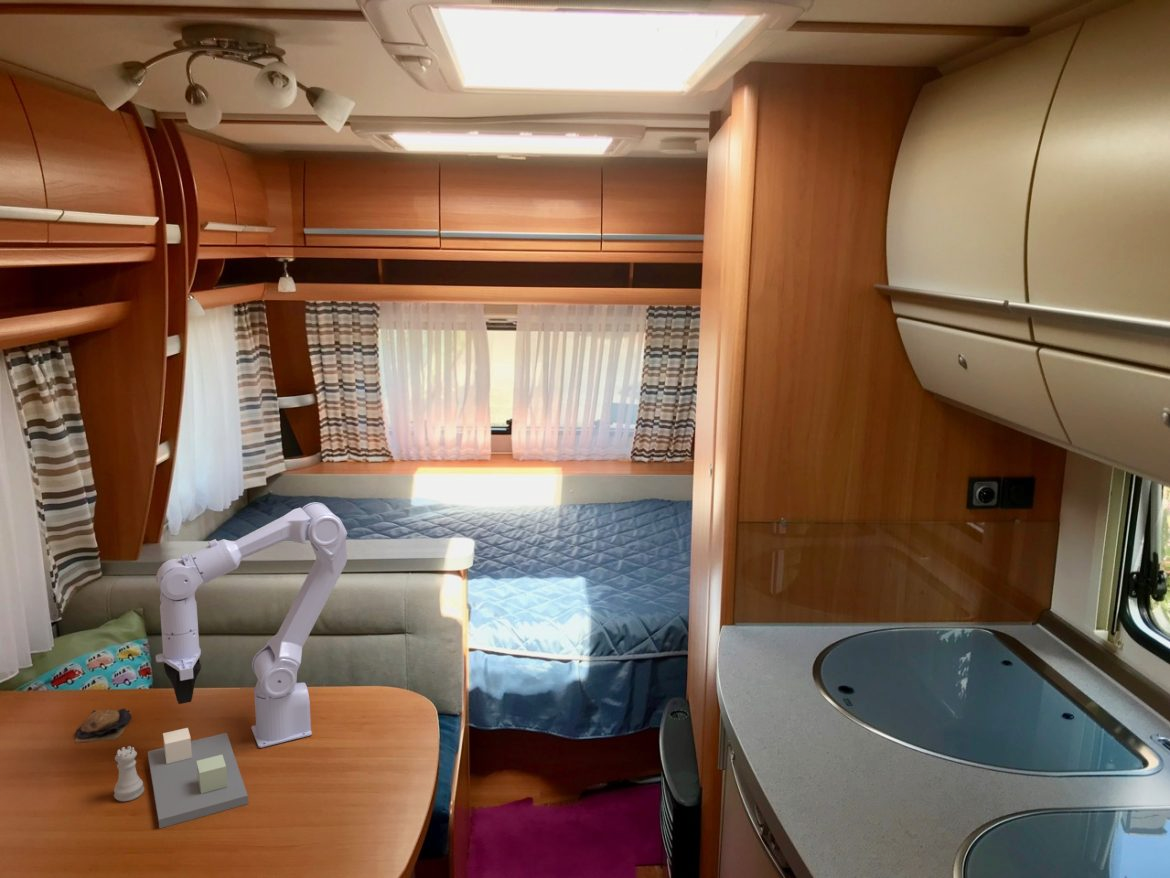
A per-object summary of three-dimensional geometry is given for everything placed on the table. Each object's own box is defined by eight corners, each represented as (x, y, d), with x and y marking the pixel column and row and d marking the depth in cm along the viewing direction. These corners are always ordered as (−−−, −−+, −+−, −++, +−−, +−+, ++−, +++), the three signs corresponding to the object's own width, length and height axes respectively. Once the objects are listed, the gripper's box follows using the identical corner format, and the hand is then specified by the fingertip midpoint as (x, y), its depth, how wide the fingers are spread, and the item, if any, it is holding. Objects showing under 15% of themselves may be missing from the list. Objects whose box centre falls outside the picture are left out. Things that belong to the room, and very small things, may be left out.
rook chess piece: (131, 804, 138) (127, 759, 137) (107, 800, 139) (103, 755, 138) (150, 788, 143) (147, 744, 141) (127, 785, 143) (123, 741, 142)
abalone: (119, 742, 157) (118, 724, 156) (69, 746, 156) (67, 728, 155) (137, 713, 167) (136, 696, 167) (90, 716, 166) (88, 699, 165)
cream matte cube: (189, 746, 152) (187, 727, 152) (192, 757, 149) (190, 738, 148) (164, 752, 150) (162, 733, 150) (166, 763, 147) (165, 744, 146)
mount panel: (227, 740, 158) (225, 720, 157) (248, 803, 139) (246, 781, 138) (148, 759, 151) (146, 738, 150) (159, 828, 132) (157, 805, 132)
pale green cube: (223, 774, 144) (222, 754, 143) (227, 786, 141) (226, 766, 140) (197, 781, 142) (196, 760, 141) (201, 793, 139) (199, 773, 138)
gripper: (150, 618, 152) (155, 688, 155) (157, 649, 140) (163, 725, 142) (194, 611, 156) (198, 680, 158) (204, 640, 143) (209, 715, 146)
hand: (184, 701), depth 150 cm, fingers closed
